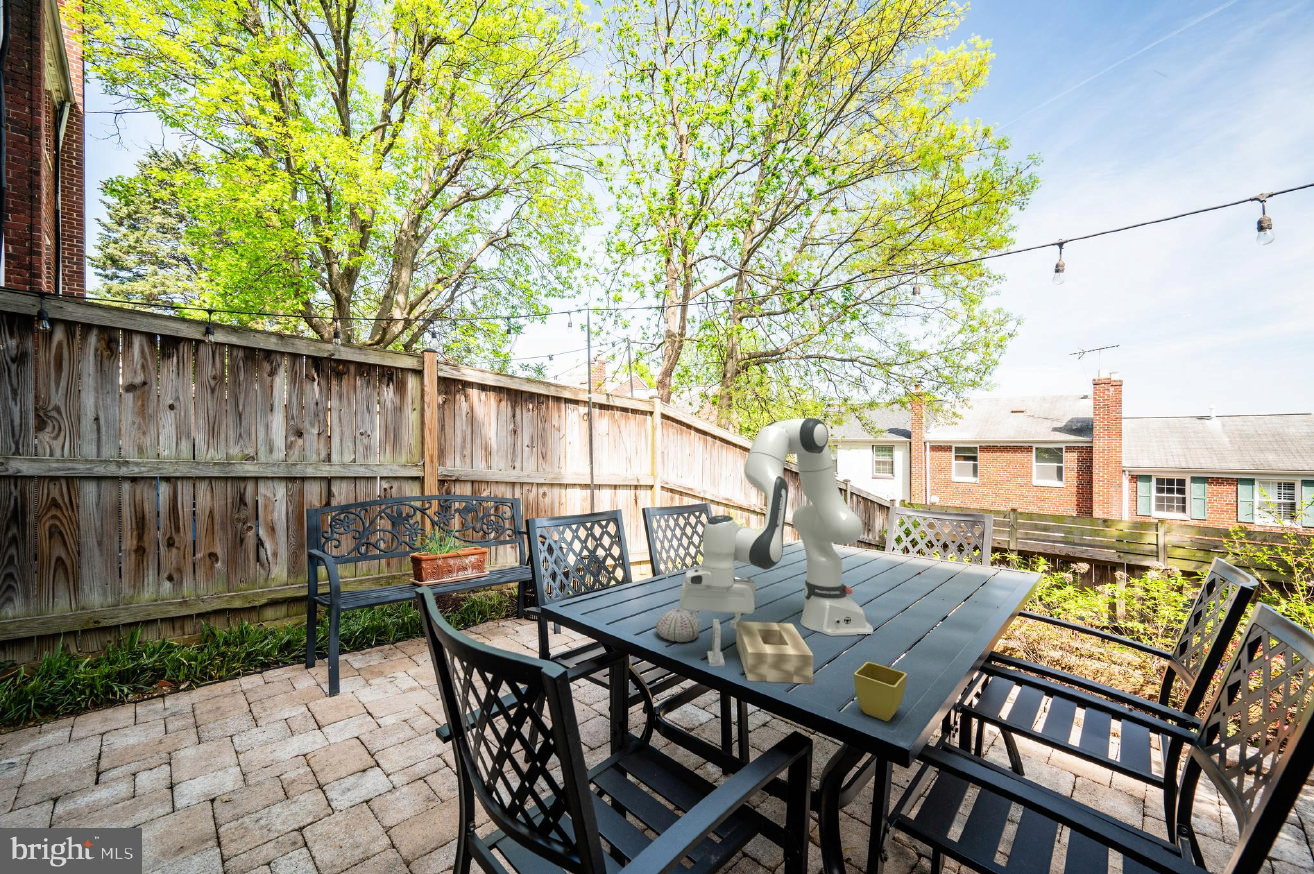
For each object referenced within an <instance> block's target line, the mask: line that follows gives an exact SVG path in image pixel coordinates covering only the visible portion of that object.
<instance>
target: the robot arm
mask: <svg viewBox="0 0 1314 874" xmlns="http://www.w3.org/2000/svg"><path fill="white" fill-rule="evenodd" d="M828 441H829V431H828V427H827V426H826V425H825V423H824V421H823V420H821V419H819V418H814V417H808V418H789V419H783V420H778V421H777V420H774V421H771V422H770V423H767V424H765V426H763V427H762V428H761V429H760V430H759V431H758V433H757V435H756V436H755V438H754V441H753V442H752V445H751V447H750V449H749V452H748V454H747V457H746V460H745V464H744V476H745V478H746V479H747V481H748V483H749V484H750V485H751V486H753V487H754V488H755V489H756V490H758V491H759V492H761V493H763V494H764V495H765V497H766V499H767V505H766V511H765V517H764V521H763V522H764V525H763V526H762V528H761V529H756V528H752V527H751V528H750V527H746V526H743V525H741V524H738V522H736V521H735V519H734V517H732V516H730V515H726V514H725V515H724V514H723V515H721V514H720V515H712V516H710V517H708V519H707V520H706V522H705V524H704V531H703V536H702V551H703V559H702V561H701V567H696V568H694V569H689V570H687V571H686V572H685V575H684V581H683V583H682V585H681V588H680V593H679V594H680V595H679V600H678V601H679V604H678V606H679V609H682V610H686V611H691V614H692V616H693V617H694V619H695V627H699V628H702V619H701V618H698V616H697V615H698V612H712V613H730V614H734V616H735V617H734V618H733V620H730V621H729V624H730V625H729V628H730V630H737V622H738V621H740V619H741V618H742V614H747V615H749V614H750V615H752V614H753V613H754V612H755V597H754V594H755V593H756V591H757V590H756V588H757V584H756V582H755V581H754V580H753V579H751V577H738V576H735V567H736V566H735V561H737V562H740V563H745V564H748V565H752V566H754V567H756V568H759V569H762V570H771V569H772V568H774V567H775V566H776V565H778V564H779V563H780V562H781V559H782V558H783V553H784V528H785V521H786V514H787V506H788V499H789V498H788V497H789V496H788V495H789V485H788V482H787V480H786V479H785V478H784V468H785V465H786V461H787V457H788V455H796V461H797V462H796V463H797V469H798V476H799V479H800V480H799V482H800V486H801V491H802V493H803V494H804V496H805V497H806V498H807V499H809V501H810V503H812V504H804V505H800V506H798V507H797V508H796V509H794V511H793V513H792V517H791V519H792V521H791V524H792V527H793V528H794V530H795V532H797V534H798V535H799V537H800V539H801V541H802V545H803V547H804V552H805V557H806V579H805V581H804V591H803V592H804V597H805V599H804V606H803V611H802V615H801V618H800V620H799V622H800V624H801V625H802V626H803V627H804V628H806V629H809V630H811V631H815V632H819V633H822V634H825V635H827V636H833V637H838V636H839V637H840V636H858V635H857V634H866V636H867V634H871V635H873V634H874V628H873V626H872V625H871V623H869V622H868V621H867V620H866V615H865V611H864V609H863V608H862V607H861V606H859V604H858V603H856V602H855V601H854V599H852V598H851V597H849V595H852V594H853V591H854V590H853V589H852V588H851V587H849V586H847V585H845V584H844V583H843V582H842V581H843V580H842V579H843V561H842V559H841V558H842V557H840V555H839V554H838V553H837V552H836V550H835V549H834V547H833V544H837V545H852V544H855V543H856V542H858V541H859V540H860V539H861V536H862V533H863V523H862V520H861V519H860V517H859V515H857V514H856V513H855V512H853V511H852V509H851V508H850V507H849V506H848V505H847V503H846V501H845V499H844V497H843V496H842V494H841V491H840V489H839V487H838V482H837V479H836V478H837V477H836V474H835V468H834V467H835V466H834V462H833V458H832V454H831V450H830V447H829V444H828ZM832 543H833V544H832Z"/></svg>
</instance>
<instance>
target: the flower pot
mask: <svg viewBox="0 0 1314 874" xmlns="http://www.w3.org/2000/svg"><path fill="white" fill-rule="evenodd" d="M907 674H908V673H906V672H903V671H900V670H897V669H893V668H890V667H886V666H884V665H881V664H877V663H874V662H871V661H866V662H865V663H864V664H863V665H861V667H859V669H857V670H856V671H855V672H854V673H853V677H854V687H855V695H856V699H857V703H858V704H859V706H860V708H861V710H862V712H863V713H864V714H866V715H869V716H871V717H874V718H877V719H879V720H882V721H885V722H889V721H890V720H891V719H892V717H893V716H894V715H895V714H896V712H897V711H898V710H899V707H900V706H901V703H902V702H903V699H904V695H905V690H906V683H907V676H908V675H907Z"/></svg>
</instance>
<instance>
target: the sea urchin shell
mask: <svg viewBox="0 0 1314 874" xmlns="http://www.w3.org/2000/svg"><path fill="white" fill-rule="evenodd" d="M655 630H656V632H657V633H658V635H659V636H660V637H661V638H663V639H664V640H669V641H671V642H677V643H682V642H683V643H688V642H691V641H693V640H695V639H697V638H698V636H699V635H700V631H701V627H695V619H694V617H693V615H692V613H690V611H689V610H682V609H681V608H673V609H671V610H669V611H666V612H664V613H663V614H662V615H661V616H660V617H659V619H658V620H657V622H656V623H655Z"/></svg>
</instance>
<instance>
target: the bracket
mask: <svg viewBox="0 0 1314 874" xmlns="http://www.w3.org/2000/svg"><path fill="white" fill-rule="evenodd" d="M721 631H722V628H721V623H720V620H719V618H712V632H711V633H712V634H711V636H712V640H711V651H710V650H708V651H707V653H706V654H707V661H708V667H725V659H724V655H723V652H722V651H721V639H722V638H721V636H722V635H721V633H722V632H721Z"/></svg>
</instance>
